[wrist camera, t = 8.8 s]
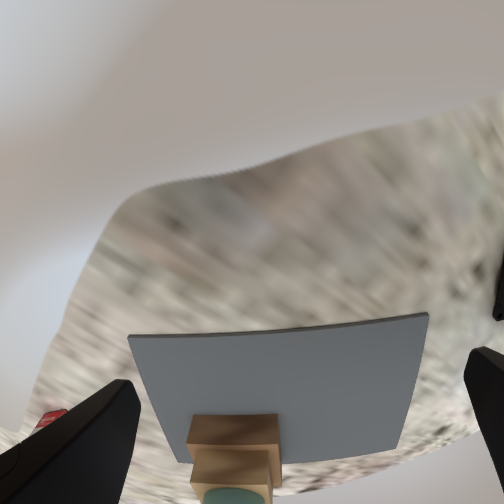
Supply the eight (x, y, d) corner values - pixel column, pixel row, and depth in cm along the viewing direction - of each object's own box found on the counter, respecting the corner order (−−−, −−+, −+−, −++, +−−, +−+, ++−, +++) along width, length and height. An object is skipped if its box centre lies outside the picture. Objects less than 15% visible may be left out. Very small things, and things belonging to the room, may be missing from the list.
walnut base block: (277, 413, 24) (277, 444, 21) (281, 459, 26) (281, 486, 23) (193, 414, 24) (185, 443, 21) (209, 459, 27) (204, 485, 24)
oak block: (268, 450, 21) (267, 484, 18) (272, 482, 23) (272, 513, 20) (197, 449, 22) (189, 482, 18) (210, 482, 23) (205, 511, 20)
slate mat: (427, 312, 21) (429, 315, 20) (394, 445, 26) (395, 448, 26) (128, 335, 23) (127, 337, 22) (178, 459, 28) (177, 462, 27)
